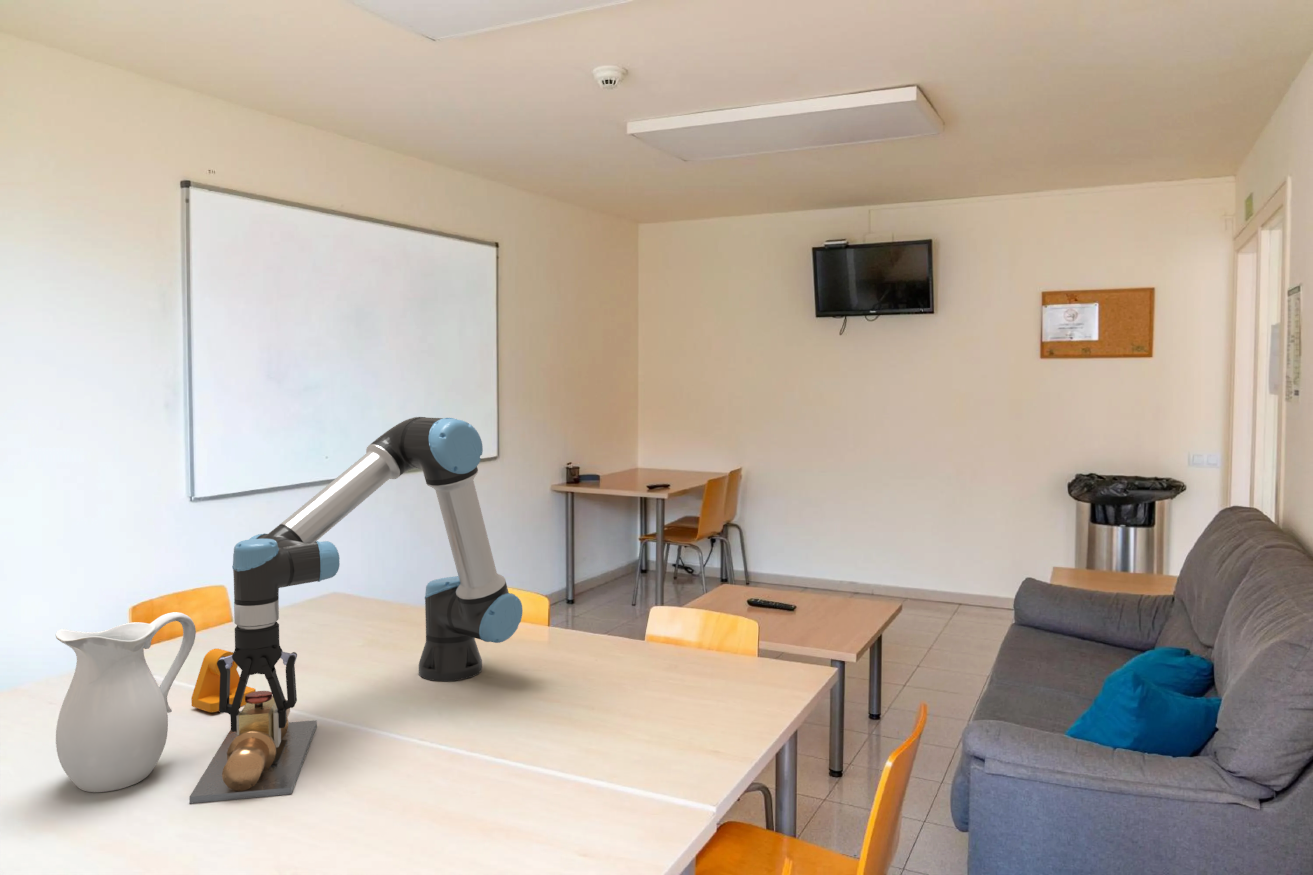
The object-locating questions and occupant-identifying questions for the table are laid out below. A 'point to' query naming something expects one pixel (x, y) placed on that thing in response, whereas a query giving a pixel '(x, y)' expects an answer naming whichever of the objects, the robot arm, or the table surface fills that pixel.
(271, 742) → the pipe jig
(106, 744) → the pitcher
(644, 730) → the table surface
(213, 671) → the bracket
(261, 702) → the valve
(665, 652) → the table surface
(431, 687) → the table surface
